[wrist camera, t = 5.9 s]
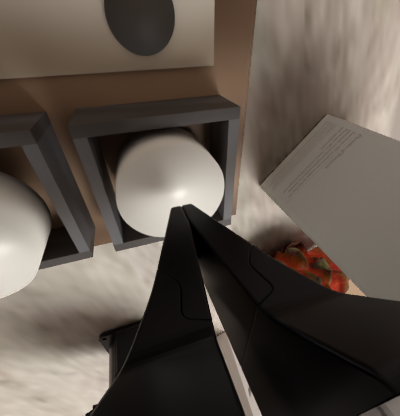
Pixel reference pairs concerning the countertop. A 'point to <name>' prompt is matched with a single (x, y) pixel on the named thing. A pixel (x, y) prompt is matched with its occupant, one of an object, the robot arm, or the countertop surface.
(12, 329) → the countertop surface
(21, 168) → the button board
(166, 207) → the button
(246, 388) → the grater
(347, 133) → the supplement box
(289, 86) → the countertop surface
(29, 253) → the button middle
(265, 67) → the countertop surface
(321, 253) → the dragon fruit
